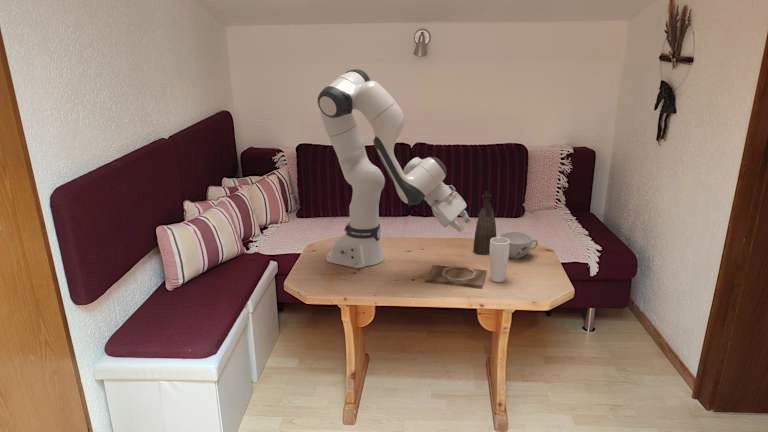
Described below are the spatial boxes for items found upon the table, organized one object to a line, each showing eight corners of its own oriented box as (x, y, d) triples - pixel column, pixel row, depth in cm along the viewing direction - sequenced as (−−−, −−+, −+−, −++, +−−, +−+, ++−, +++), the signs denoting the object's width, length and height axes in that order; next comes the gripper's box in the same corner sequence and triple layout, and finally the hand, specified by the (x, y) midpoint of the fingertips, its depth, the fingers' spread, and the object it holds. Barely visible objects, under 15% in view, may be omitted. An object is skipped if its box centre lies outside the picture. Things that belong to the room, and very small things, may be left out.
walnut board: (424, 282, 192) (424, 276, 191) (432, 267, 204) (432, 262, 203) (481, 288, 186) (482, 283, 186) (486, 273, 198) (486, 268, 197)
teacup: (503, 262, 207) (504, 243, 204) (495, 250, 219) (496, 231, 216) (542, 261, 207) (543, 241, 205) (532, 249, 219) (533, 230, 217)
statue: (483, 246, 223) (487, 188, 214) (498, 251, 218) (504, 192, 209) (470, 252, 217) (474, 193, 208) (486, 258, 212) (491, 197, 203)
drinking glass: (507, 284, 189) (510, 244, 184) (487, 283, 190) (489, 243, 186) (507, 276, 195) (509, 237, 190) (488, 275, 197) (490, 236, 192)
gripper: (435, 199, 182) (463, 230, 181) (454, 184, 199) (479, 212, 199) (423, 211, 185) (450, 241, 184) (442, 194, 203) (467, 222, 202)
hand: (465, 226), depth 192 cm, fingers open, 8 cm apart
